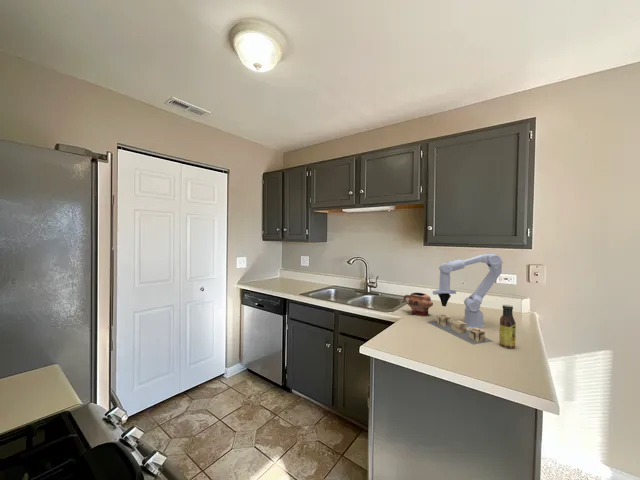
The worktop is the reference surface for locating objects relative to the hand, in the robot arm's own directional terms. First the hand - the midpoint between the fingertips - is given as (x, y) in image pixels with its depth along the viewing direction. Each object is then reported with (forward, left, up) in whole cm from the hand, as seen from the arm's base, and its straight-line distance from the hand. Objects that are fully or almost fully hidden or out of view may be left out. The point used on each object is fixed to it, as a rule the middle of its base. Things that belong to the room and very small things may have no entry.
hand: (443, 306), depth 160 cm
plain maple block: (+3, +15, -10) cm, 18 cm away
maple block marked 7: (+3, +26, -10) cm, 28 cm away
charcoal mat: (+3, +13, -10) cm, 17 cm away
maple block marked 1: (+3, +3, -10) cm, 11 cm away
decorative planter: (+4, -20, -11) cm, 23 cm away
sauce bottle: (-4, +36, -11) cm, 38 cm away
